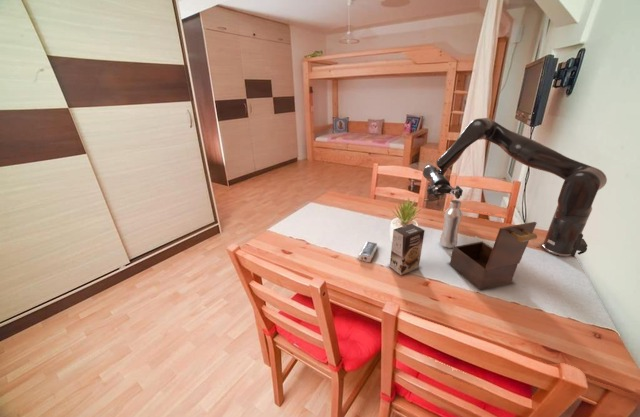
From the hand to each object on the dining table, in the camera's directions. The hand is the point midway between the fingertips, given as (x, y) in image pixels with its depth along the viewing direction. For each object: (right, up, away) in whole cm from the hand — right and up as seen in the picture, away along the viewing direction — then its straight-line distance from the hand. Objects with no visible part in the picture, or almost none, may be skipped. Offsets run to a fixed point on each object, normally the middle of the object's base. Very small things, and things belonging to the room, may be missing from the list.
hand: (447, 196), depth 112 cm
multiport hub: (-35, -24, -6) cm, 43 cm away
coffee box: (-23, -27, -15) cm, 39 cm away
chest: (+2, -28, -19) cm, 34 cm away
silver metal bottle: (-1, -21, -3) cm, 21 cm away
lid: (+3, -17, -32) cm, 37 cm away
